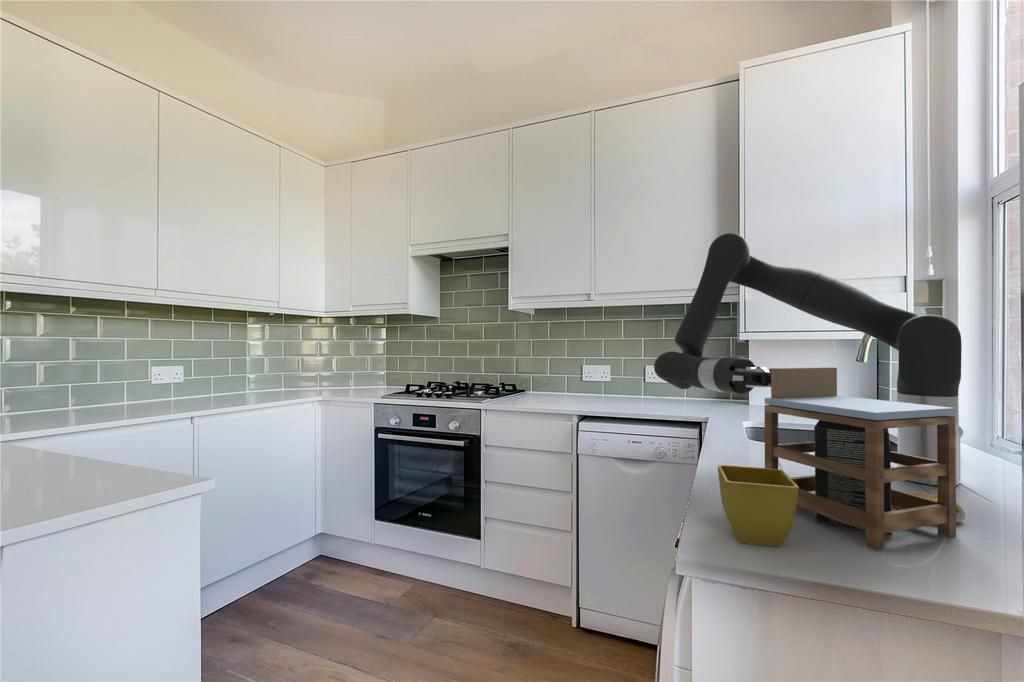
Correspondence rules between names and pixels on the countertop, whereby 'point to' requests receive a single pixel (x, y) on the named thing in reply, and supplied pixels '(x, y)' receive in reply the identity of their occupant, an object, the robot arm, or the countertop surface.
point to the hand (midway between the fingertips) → (800, 380)
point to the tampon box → (849, 449)
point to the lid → (838, 397)
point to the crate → (875, 475)
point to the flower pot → (758, 503)
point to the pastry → (959, 511)
